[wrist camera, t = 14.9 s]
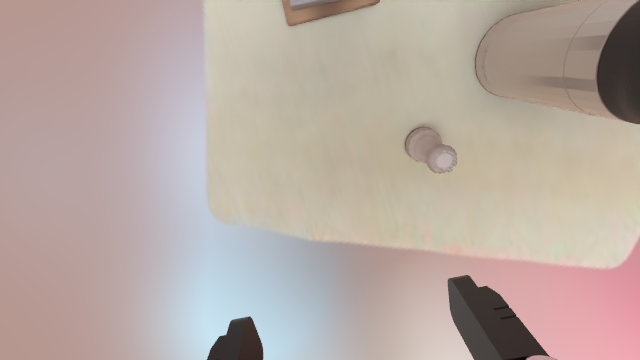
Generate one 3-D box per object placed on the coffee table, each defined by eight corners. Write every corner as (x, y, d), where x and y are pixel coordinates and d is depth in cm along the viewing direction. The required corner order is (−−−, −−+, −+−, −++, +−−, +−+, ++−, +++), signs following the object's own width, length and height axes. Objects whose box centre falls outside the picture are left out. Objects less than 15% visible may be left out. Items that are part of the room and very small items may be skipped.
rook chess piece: (400, 134, 41) (419, 151, 33) (433, 121, 40) (461, 135, 33) (409, 164, 42) (430, 187, 35) (442, 152, 42) (470, 172, 34)
